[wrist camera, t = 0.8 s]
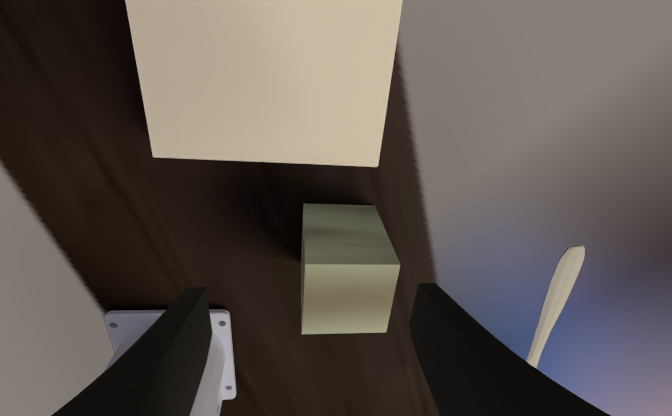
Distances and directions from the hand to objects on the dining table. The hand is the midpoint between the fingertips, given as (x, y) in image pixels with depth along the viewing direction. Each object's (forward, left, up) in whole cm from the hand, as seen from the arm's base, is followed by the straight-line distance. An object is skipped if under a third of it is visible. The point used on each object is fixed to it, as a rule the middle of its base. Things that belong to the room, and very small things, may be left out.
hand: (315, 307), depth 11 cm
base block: (+8, +2, -10) cm, 12 cm away
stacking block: (-3, -2, -10) cm, 10 cm away
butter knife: (-17, -21, -10) cm, 29 cm away
